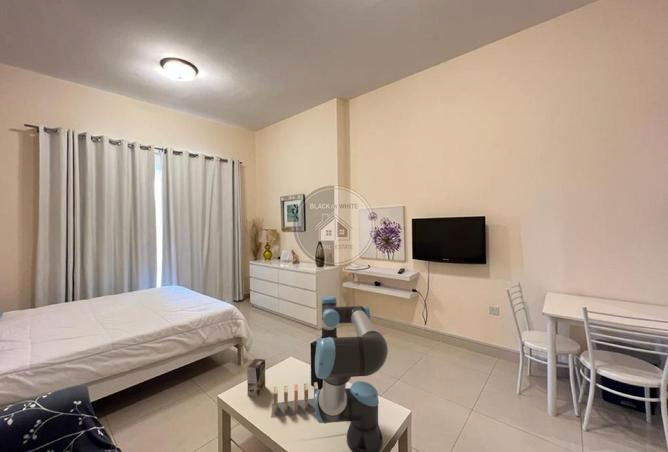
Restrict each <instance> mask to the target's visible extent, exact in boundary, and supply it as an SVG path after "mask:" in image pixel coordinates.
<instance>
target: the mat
mask: <svg viewBox="0 0 668 452" xmlns="http://www.w3.org/2000/svg"><path fill="white" fill-rule="evenodd" d="M312 413H316V411H315V405H314V397H313V398H308V409H307V410H305V404H304V399H298V411H295V404H294V400H288V412H284V401H280V402H278V410H277V413H275V414H274V402H273V403H271V414H270V418H271V419H272V418H281V417H287V416H289V417H290V416H296V415H297V416H298V415H304V414H312Z"/></svg>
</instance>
